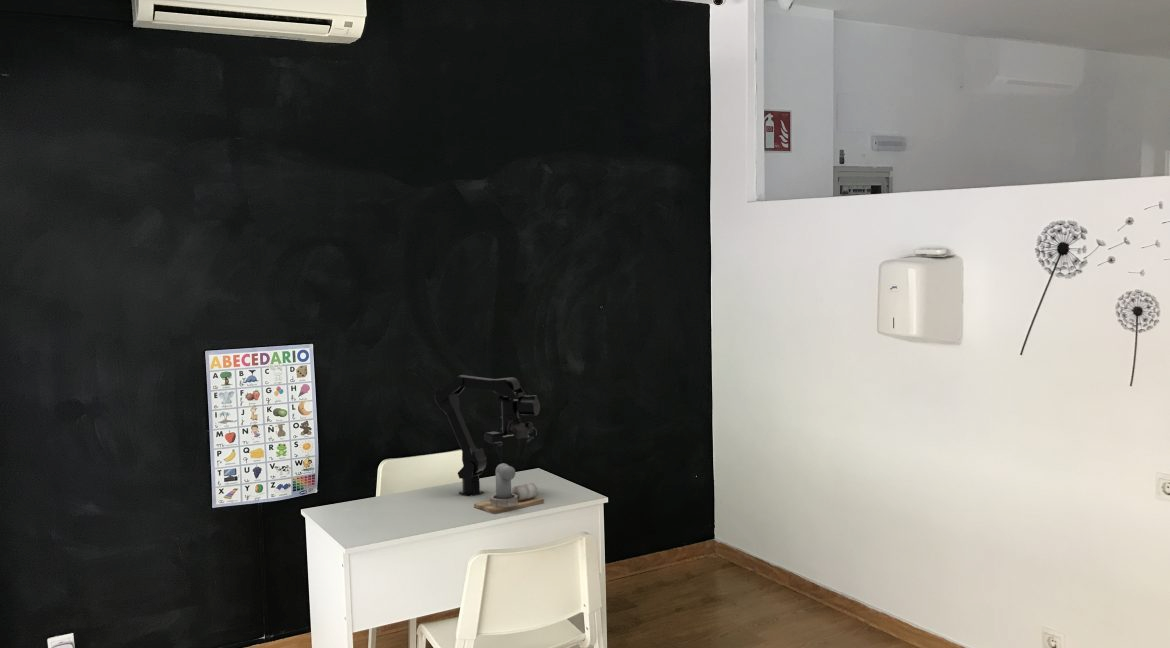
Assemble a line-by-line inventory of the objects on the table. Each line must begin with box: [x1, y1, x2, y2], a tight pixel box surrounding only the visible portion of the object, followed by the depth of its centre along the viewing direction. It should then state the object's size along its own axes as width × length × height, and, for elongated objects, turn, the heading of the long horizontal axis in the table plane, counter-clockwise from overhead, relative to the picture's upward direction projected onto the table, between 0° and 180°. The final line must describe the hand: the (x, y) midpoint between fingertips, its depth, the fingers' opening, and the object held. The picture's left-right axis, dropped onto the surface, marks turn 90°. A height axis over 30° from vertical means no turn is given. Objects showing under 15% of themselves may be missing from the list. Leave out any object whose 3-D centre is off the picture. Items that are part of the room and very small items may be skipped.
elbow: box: [495, 463, 516, 499], centre depth 298 cm, size 7×5×14 cm
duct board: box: [473, 482, 545, 515], centre depth 302 cm, size 12×20×6 cm, turn 130°
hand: (511, 459), depth 314 cm, fingers open, 9 cm apart
